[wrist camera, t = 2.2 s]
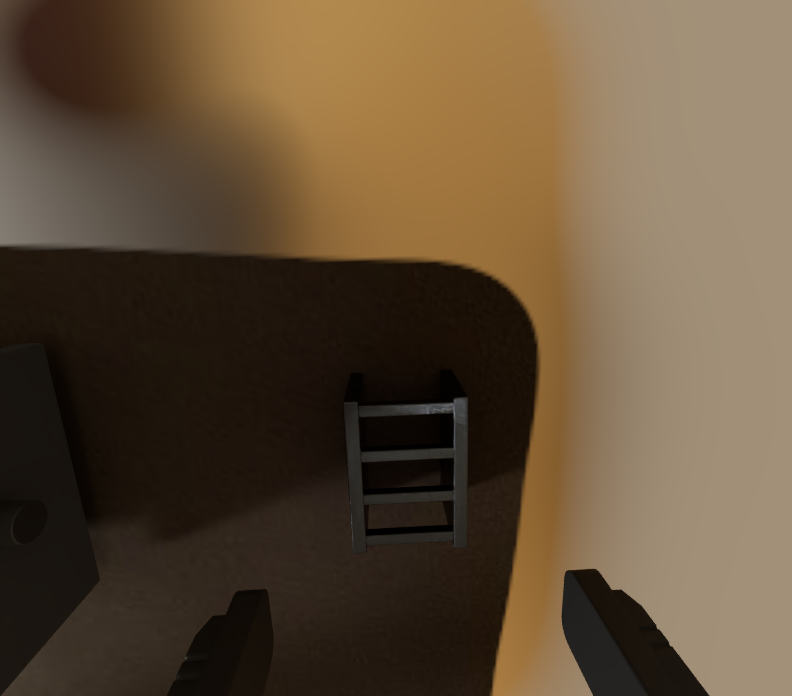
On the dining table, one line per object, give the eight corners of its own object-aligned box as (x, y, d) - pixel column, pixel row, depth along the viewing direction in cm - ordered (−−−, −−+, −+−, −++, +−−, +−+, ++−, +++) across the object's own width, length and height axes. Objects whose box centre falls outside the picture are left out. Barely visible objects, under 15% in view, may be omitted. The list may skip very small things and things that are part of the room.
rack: (451, 369, 20) (468, 396, 16) (451, 494, 22) (467, 548, 18) (350, 373, 20) (342, 402, 16) (358, 499, 21) (352, 554, 18)
